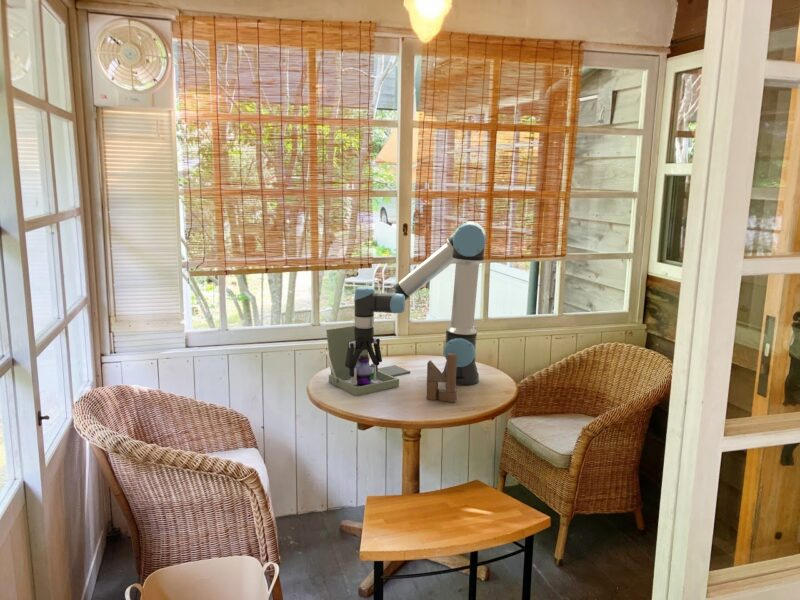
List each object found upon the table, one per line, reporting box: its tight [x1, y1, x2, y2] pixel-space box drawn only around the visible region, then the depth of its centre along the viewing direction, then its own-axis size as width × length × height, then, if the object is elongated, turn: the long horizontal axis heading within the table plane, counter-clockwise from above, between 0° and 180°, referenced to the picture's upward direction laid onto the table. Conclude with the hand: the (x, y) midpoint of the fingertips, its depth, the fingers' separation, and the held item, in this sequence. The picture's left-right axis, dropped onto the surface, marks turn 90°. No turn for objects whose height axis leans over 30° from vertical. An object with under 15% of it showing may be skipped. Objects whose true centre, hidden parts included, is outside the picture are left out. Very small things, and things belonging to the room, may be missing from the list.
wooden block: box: [426, 353, 458, 403], centre depth 230 cm, size 4×11×18 cm, turn 71°
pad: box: [378, 364, 411, 377], centre depth 265 cm, size 11×11×1 cm
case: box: [324, 325, 400, 397], centre depth 247 cm, size 24×21×21 cm
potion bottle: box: [355, 354, 375, 387], centre depth 247 cm, size 9×9×12 cm
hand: (363, 382), depth 248 cm, fingers closed on potion bottle, 9 cm apart
